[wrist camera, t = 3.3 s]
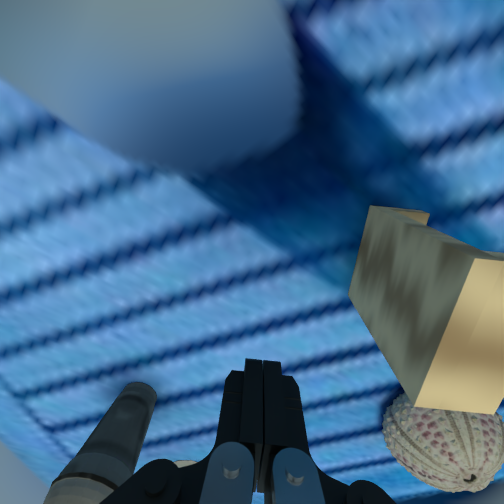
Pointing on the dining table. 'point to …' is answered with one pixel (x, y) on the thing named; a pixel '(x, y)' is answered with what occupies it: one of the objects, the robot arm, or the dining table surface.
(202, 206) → the dining table surface
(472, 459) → the sea urchin shell
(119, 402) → the beverage cup
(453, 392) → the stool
